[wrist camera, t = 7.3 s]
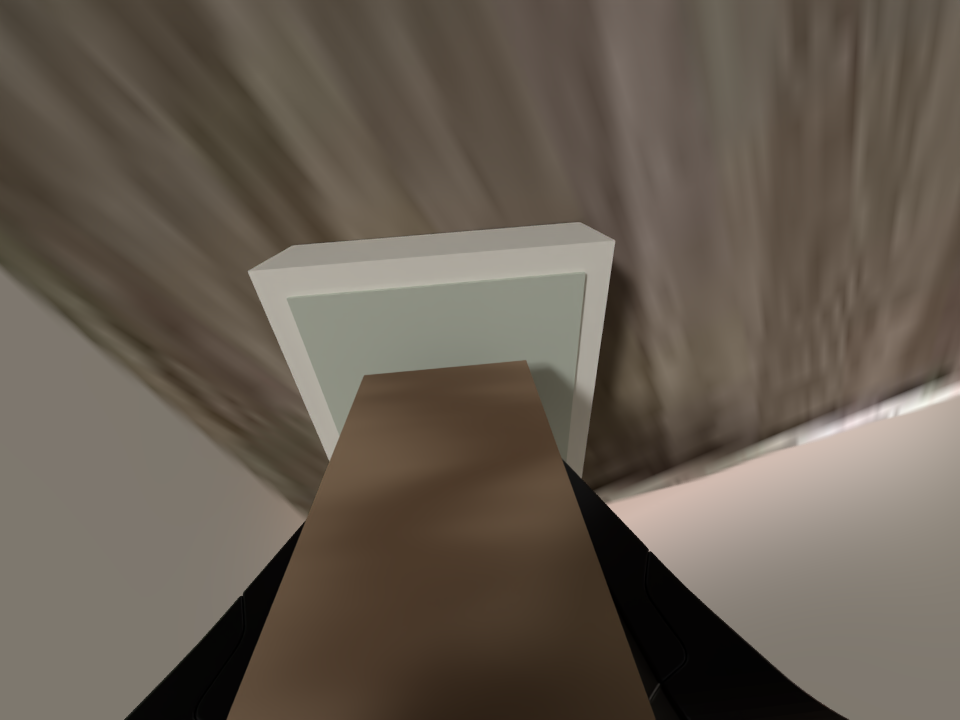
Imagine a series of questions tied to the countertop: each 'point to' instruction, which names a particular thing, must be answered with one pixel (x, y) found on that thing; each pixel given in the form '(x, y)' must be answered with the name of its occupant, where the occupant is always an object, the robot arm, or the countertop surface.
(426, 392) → the walnut block
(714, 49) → the countertop surface
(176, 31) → the countertop surface
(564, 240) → the base slab
